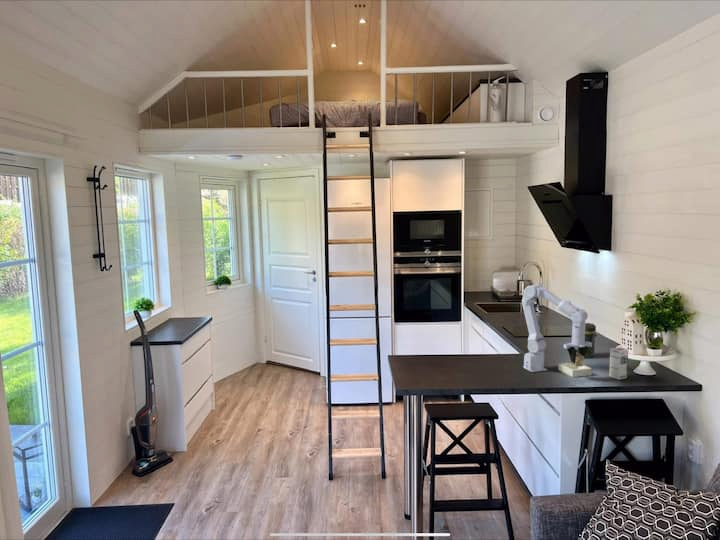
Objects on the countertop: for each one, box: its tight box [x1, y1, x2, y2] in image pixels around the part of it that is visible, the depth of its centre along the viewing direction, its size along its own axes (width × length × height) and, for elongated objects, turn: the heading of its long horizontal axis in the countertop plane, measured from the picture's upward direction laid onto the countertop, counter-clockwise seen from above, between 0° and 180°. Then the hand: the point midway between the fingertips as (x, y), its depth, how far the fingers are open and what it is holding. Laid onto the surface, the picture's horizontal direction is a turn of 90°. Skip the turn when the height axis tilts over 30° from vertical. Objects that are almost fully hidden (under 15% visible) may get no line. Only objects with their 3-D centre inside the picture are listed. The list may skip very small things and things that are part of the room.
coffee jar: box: [576, 322, 597, 359], centre depth 280 cm, size 10×8×19 cm
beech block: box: [570, 353, 585, 367], centre depth 244 cm, size 4×4×5 cm
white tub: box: [557, 362, 593, 378], centre depth 253 cm, size 11×11×4 cm
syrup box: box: [608, 346, 629, 380], centre depth 246 cm, size 6×6×14 cm
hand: (576, 361), depth 245 cm, fingers closed on beech block, 4 cm apart
